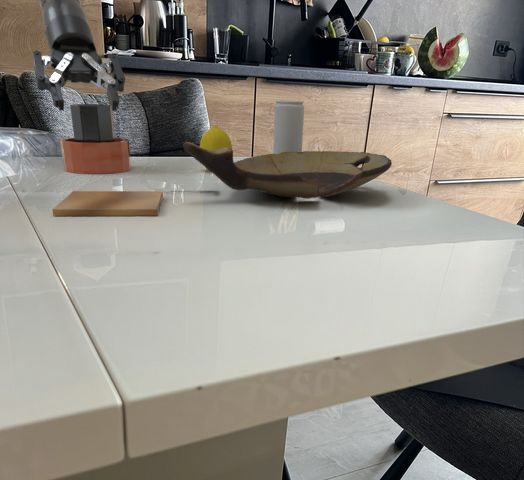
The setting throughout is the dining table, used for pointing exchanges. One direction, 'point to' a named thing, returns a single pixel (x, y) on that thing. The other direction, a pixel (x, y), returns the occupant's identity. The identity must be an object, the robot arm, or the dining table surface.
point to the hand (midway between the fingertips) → (88, 107)
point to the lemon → (215, 139)
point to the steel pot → (92, 123)
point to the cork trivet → (110, 203)
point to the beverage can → (288, 126)
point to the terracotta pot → (96, 156)
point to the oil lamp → (293, 170)
